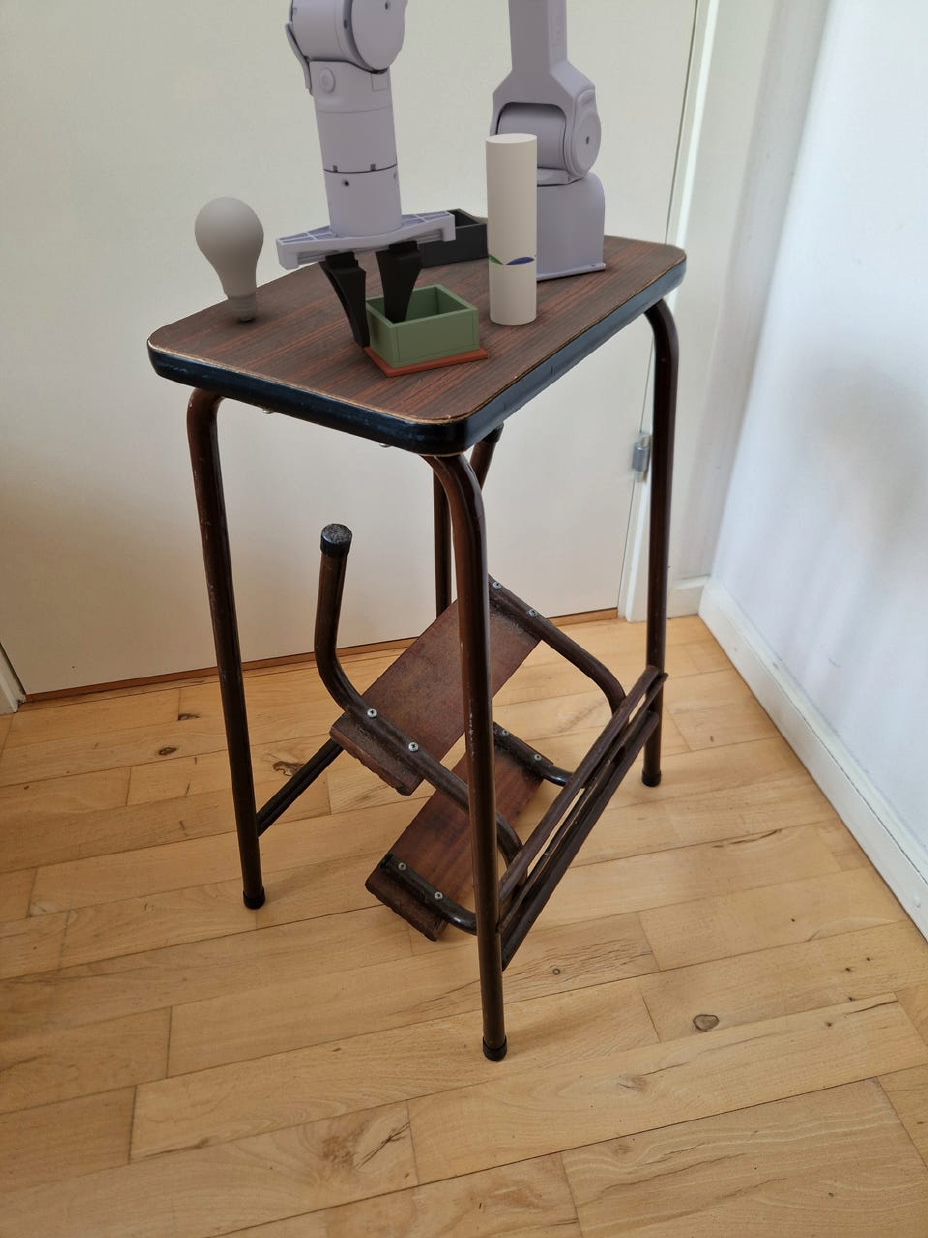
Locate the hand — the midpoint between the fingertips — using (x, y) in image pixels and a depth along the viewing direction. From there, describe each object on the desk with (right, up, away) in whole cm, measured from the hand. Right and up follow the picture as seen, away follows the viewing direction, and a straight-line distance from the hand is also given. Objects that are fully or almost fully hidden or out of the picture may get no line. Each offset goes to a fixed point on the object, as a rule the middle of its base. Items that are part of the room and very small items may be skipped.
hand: (379, 340), depth 76 cm
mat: (+4, 0, +2) cm, 4 cm away
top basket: (+3, 0, +2) cm, 4 cm away
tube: (+12, +4, +7) cm, 15 cm away
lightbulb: (-14, +5, +10) cm, 18 cm away
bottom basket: (+5, +18, +25) cm, 31 cm away
